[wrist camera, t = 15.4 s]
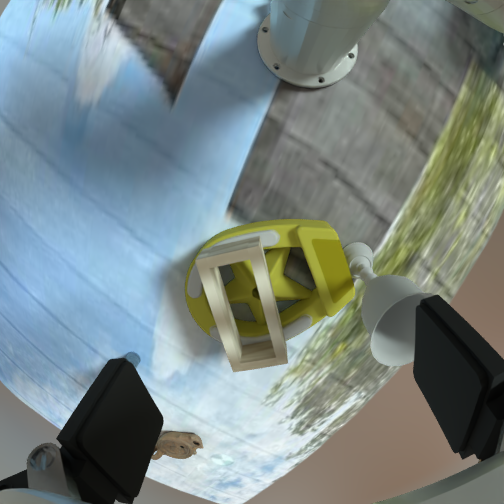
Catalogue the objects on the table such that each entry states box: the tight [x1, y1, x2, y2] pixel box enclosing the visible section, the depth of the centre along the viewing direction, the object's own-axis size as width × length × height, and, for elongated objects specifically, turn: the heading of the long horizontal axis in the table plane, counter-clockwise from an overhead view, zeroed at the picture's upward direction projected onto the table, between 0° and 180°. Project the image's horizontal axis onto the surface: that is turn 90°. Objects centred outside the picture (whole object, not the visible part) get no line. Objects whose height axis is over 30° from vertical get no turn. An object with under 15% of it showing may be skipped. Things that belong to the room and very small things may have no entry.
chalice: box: [343, 242, 434, 366], centre depth 31 cm, size 7×7×18 cm
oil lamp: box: [151, 432, 203, 460], centre depth 50 cm, size 13×8×5 cm, turn 115°
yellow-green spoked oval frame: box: [185, 219, 355, 345], centre depth 39 cm, size 16×21×5 cm
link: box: [195, 236, 288, 372], centre depth 35 cm, size 15×7×4 cm, turn 14°
